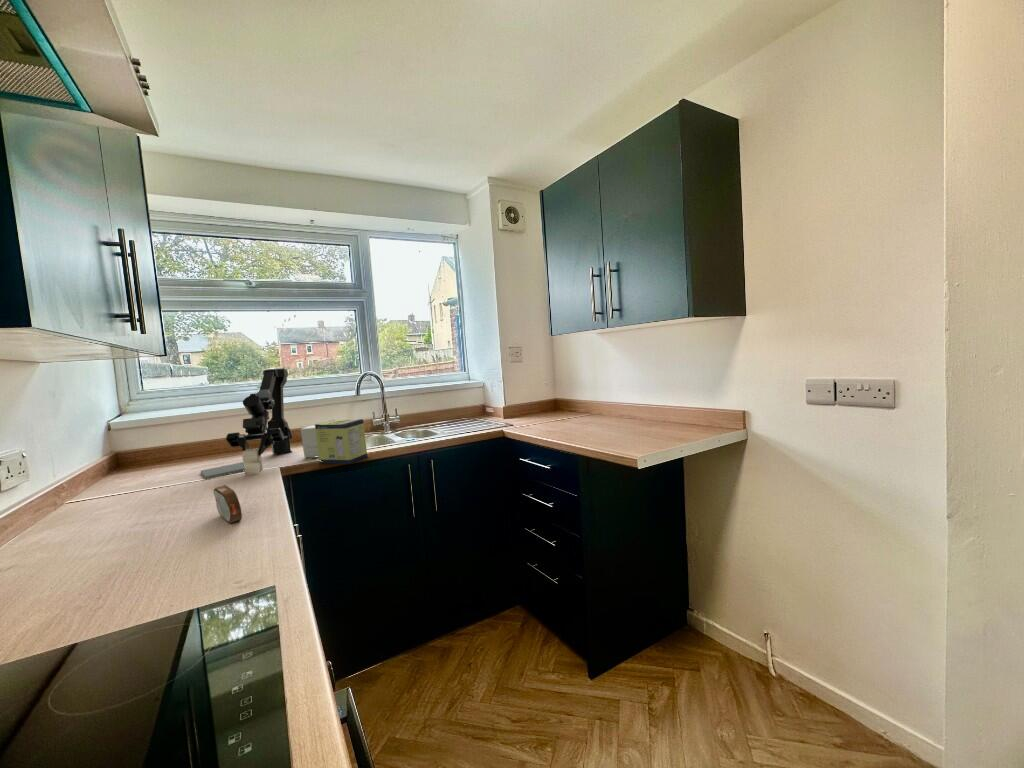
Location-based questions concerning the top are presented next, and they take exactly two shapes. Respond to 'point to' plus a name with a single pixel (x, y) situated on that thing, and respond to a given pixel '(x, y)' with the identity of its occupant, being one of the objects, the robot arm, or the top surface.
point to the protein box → (341, 441)
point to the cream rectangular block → (252, 461)
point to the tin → (227, 504)
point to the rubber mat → (223, 470)
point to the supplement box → (309, 441)
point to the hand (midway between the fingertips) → (252, 455)
